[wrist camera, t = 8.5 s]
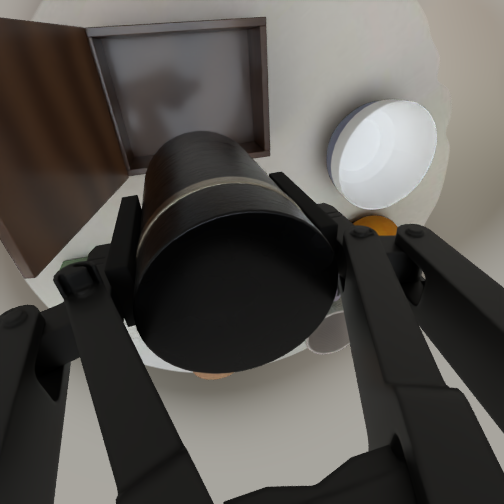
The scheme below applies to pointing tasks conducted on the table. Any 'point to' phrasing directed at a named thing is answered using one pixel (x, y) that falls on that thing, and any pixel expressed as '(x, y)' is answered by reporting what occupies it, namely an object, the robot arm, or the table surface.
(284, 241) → the black canister
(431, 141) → the bowl
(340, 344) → the planter
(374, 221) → the fruit
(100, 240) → the table surface
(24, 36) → the lid
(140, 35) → the chest
